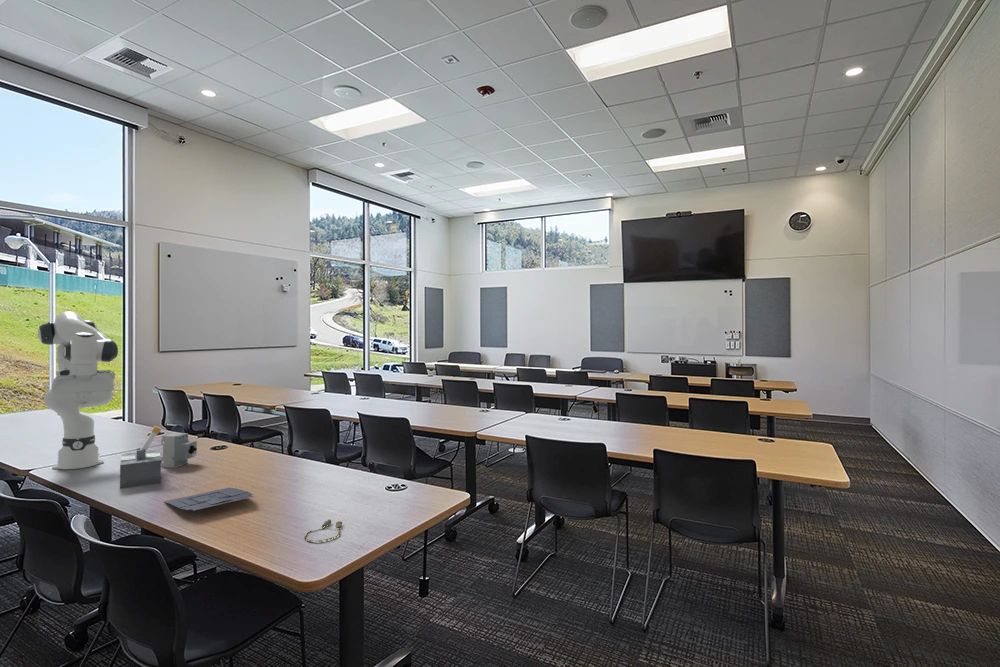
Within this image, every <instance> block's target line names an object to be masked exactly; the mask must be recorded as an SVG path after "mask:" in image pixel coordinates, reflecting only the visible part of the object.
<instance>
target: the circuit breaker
mask: <svg viewBox="0 0 1000 667" xmlns="http://www.w3.org/2000/svg"><path fill="white" fill-rule="evenodd" d="M161 438H162V439H161V440H160V444H161V445H162V456H160V458H161V468H163V467H164V468H178V467H181V466H183V465H186V464H188V460H189V459H192V458H195V457H197V450H198V447H197V443H198V442H197V440H189V433H188V432H187V433H186V432H172V433H171V432H170V433H168V434H165V435H161Z"/></svg>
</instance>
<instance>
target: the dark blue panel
mask: <svg viewBox="0 0 1000 667" xmlns="http://www.w3.org/2000/svg"><path fill="white" fill-rule="evenodd" d="M254 495H255V494H253V493H252V492H249V491H248V490H243V489H239V488H236V487H235V488H234V487H225V488H221V489H216V490H211V491H207V492H202V493H198V494H197V493H196V494H193V495H187V496H183V497H182V496H181V497H177V498H173V499H168V500H163V502H164V503H166V504H169V505H172V506H174V507H176V508H179V509H180V510H186V511H188V510H192V511H197V510H201V509H202V510H203V509H205V508H211V507H214V506H219V505H224V504H227V503H232V502H236V501H241V500H245V499H249V498H254V497H255V496H254Z"/></svg>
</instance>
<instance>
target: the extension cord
mask: <svg viewBox="0 0 1000 667" xmlns="http://www.w3.org/2000/svg"><path fill="white" fill-rule="evenodd" d="M331 523H332V520H331V519H327V520H326V521H324V522H323V523H322V525H321V527H322V528H323V527H324V526H325V528H327V527H328V526H327V525H329V524H331ZM335 524H336V525H335V528H336V527H337V528H339V529H338V531H339V532H338V534H337V535H336V536H333V537H330V538H327V539H324V540H326V541H328V539H330V540H331V539H332V538H333V539H334V537H337V536H338V535H340V533H341V529H340V528H342V525H343V522H342V521H336V522H335ZM326 526H327V527H326ZM329 526H330V525H329ZM337 528H336V529H337ZM305 538H307V536H306V537H305V536H304V539H305ZM307 540H309V541H312V540H311V539H308V538H307ZM322 540H323V539H321V540H320V539H318V540H317V541H319V542H323V541H322Z"/></svg>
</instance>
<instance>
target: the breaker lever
mask: <svg viewBox="0 0 1000 667" xmlns="http://www.w3.org/2000/svg"><path fill="white" fill-rule="evenodd" d="M161 431H162V427H159V426H157V425H154V426H153V427H152V429H151V432H150V434H149V435H148V437H147V439H146V440H145V442H144V443H143V444H142V446H141V447H140V448H141V449H140V450H143V449H145V452H146V451H148V449H149V447H150V446H151V445H152V443H153V441H154V440H155V438H156V437H157V435H159V434H160V432H161Z"/></svg>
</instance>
